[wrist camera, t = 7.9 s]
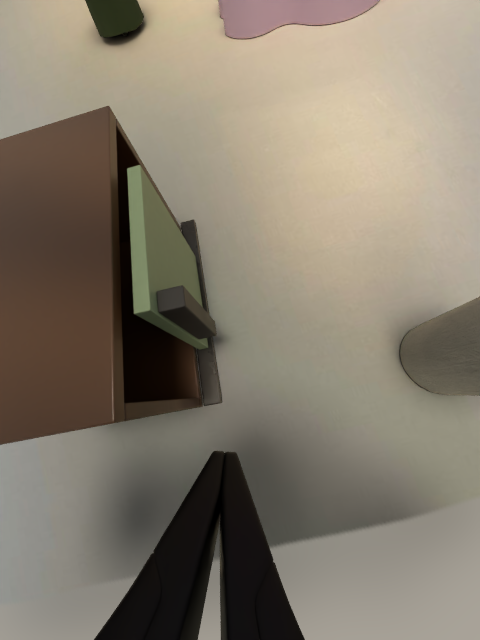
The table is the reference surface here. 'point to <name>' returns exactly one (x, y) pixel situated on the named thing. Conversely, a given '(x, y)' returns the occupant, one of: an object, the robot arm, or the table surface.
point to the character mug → (115, 16)
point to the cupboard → (82, 290)
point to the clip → (285, 14)
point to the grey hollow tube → (446, 352)
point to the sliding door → (164, 267)
